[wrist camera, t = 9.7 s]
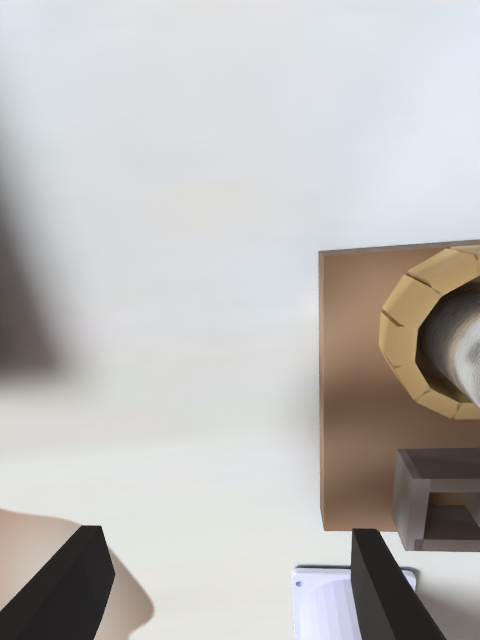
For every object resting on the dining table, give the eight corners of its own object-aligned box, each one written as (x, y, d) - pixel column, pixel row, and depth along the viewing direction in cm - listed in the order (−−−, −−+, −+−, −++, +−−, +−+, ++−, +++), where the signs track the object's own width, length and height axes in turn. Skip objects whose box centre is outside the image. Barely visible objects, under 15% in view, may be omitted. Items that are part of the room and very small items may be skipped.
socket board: (527, 509, 20) (579, 571, 16) (320, 508, 21) (330, 565, 18) (598, 231, 14) (696, 238, 11) (318, 251, 16) (331, 263, 12)
